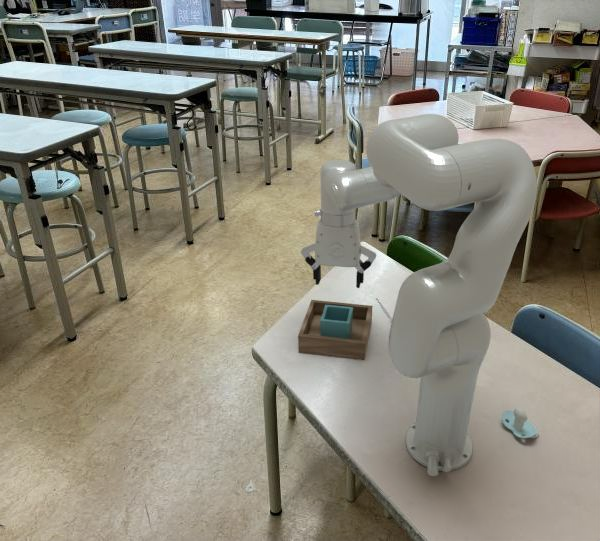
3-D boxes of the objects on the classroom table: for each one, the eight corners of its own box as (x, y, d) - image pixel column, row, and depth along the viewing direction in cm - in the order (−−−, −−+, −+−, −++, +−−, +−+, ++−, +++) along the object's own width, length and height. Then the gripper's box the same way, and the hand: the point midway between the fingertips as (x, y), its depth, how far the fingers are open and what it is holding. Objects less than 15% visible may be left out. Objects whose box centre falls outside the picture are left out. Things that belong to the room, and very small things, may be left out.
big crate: (364, 360, 129) (365, 343, 127) (298, 352, 132) (298, 335, 130) (371, 321, 143) (372, 305, 140) (311, 315, 146) (311, 299, 143)
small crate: (348, 343, 133) (349, 323, 130) (320, 340, 134) (320, 320, 132) (352, 326, 139) (353, 307, 136) (325, 324, 140) (325, 304, 137)
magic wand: (370, 293, 157) (373, 288, 157) (406, 343, 136) (410, 337, 135) (365, 291, 156) (369, 286, 156) (400, 340, 135) (405, 335, 134)
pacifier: (517, 413, 114) (495, 422, 111) (523, 390, 110) (501, 399, 108) (545, 437, 108) (523, 447, 105) (553, 413, 105) (530, 424, 102)
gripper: (296, 221, 119) (299, 288, 128) (375, 225, 116) (373, 294, 124) (303, 208, 126) (305, 273, 134) (379, 212, 122) (376, 278, 130)
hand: (338, 283), depth 129 cm, fingers open, 9 cm apart
